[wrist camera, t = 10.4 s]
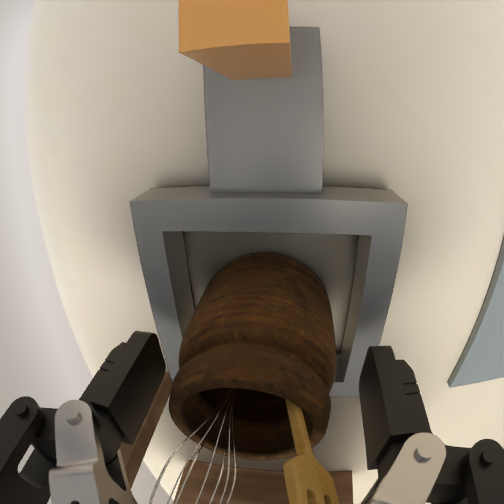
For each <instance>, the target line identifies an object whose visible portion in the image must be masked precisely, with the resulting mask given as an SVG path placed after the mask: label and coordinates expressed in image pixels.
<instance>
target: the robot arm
mask: <svg viewBox="0 0 504 504" xmlns="http://www.w3.org/2000/svg"><path fill="white" fill-rule="evenodd" d="M164 375H165V361H164V358H163V354H162V351H161V348H160V344H159V341H158V337H157V335H156V334H155V333H148V332H141V331H135V332H134V333H133V334H132V335H131V337H130V338H129V340H128V341H127V343H124V342H122V343H121V344H120V345H118V346H117V347H116V348H114V349H113V350H112V351H111V352H110V354H109V355H108V357H107V358H106V360H105V362H104V363H103V364H102V366H101V367H100V370H98V372H97V373H96V375H95V376H94V378H93V379H92V381H91V382H90V384H89V385H88V387H87V388H86V390H85V391H84V393H83V394H82V396H81V398H80V399H79V400H71V401H68V402H65V403H64V404H62V405H61V406H60V407H59V408H58V409H52V408H40V407H39V406H38V404H37V402H36V401H35V400H34V399H33V398H31V397H20V398H18V399H16V400H15V401H14V402H13V403H12V404H11V405H10V407H9V408H8V409H7V411H6V412H5V414H4V415H3V416H2V418H1V419H0V504H47V502H48V500H49V498H50V496H51V501H52V504H137V502H136V500H135V498H134V497H133V495H132V492H131V489H130V485H129V482H128V478H127V475H126V471H125V467H124V463H123V459H122V455H121V452H120V450H119V448H120V445H121V443H122V442H123V443H127V444H130V445H133V444H134V442H135V439H136V437H137V435H138V433H139V431H140V428H141V426H142V424H143V422H144V419H145V417H146V415H147V413H148V411H149V409H150V406H151V404H152V402H153V400H154V398H155V396H156V393H157V391H158V389H159V387H160V385H161V383H162V381H163V378H164ZM416 383H417V382H416V378H415V375H414V372H413V370H412V369H411V367H410V366H409V365H408V364H407V363H406V362H405V361H404V360H395V356H394V353H393V350H392V347H391V346H369V348H368V350H367V353H366V357H365V361H364V364H363V368H362V371H361V374H360V379H359V396H360V403H361V411H362V419H363V427H364V436H365V446H366V456H367V468H368V470H373V469H378V479H377V480H376V482H375V483H374V485H373V486H372V488H371V489H370V491H369V492H368V494H367V495H366V497H365V498H364V500H363V501H362V502H361V504H425V502H427V503H431V504H504V450H503V448H502V447H501V445H500V444H499V443H498V442H496V441H494V440H491V439H483V440H480V441H478V442H477V443H476V444H475V445H474V446H473V447H472V448H463V447H453V446H447V445H445V444H444V443H443V442H442V440H441V439H440V438H439V437H437V436H436V435H434V434H432V432H431V429H430V426H429V422H428V418H427V415H426V411H425V408H424V404H423V401H422V398H421V394H419V393H420V391H419V388H418V385H417V384H416ZM30 445H32V446H33V447H34V448H35V449H34V450H33V452H32V454H31V455H30V457H29V459H28V460H27V462H26V464H25V466H24V467H23V469H22V471H21V472H20V473H18V470H17V468H18V465H19V463H20V461H21V459H22V458H23V456H24V454H25V453H26V451H27V449H28V448H29V446H30Z"/></svg>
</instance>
